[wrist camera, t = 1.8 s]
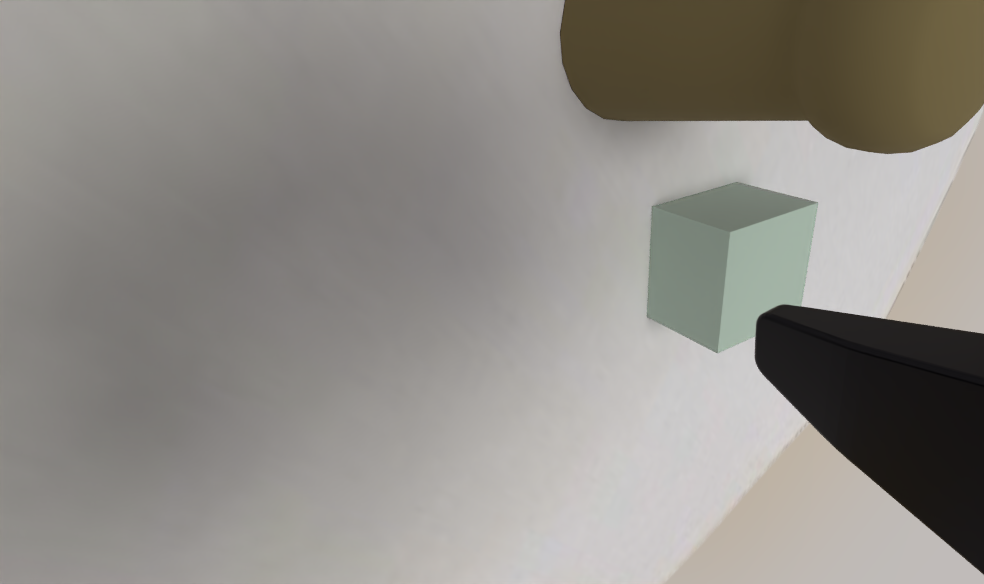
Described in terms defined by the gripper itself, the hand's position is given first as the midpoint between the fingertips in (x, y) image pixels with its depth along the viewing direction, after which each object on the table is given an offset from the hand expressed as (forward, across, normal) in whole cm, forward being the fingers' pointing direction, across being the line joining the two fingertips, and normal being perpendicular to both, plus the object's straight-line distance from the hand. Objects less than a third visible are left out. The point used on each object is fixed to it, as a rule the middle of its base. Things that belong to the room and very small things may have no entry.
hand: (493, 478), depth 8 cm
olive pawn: (+14, -13, -1) cm, 19 cm away
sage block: (+14, -15, +8) cm, 22 cm away
